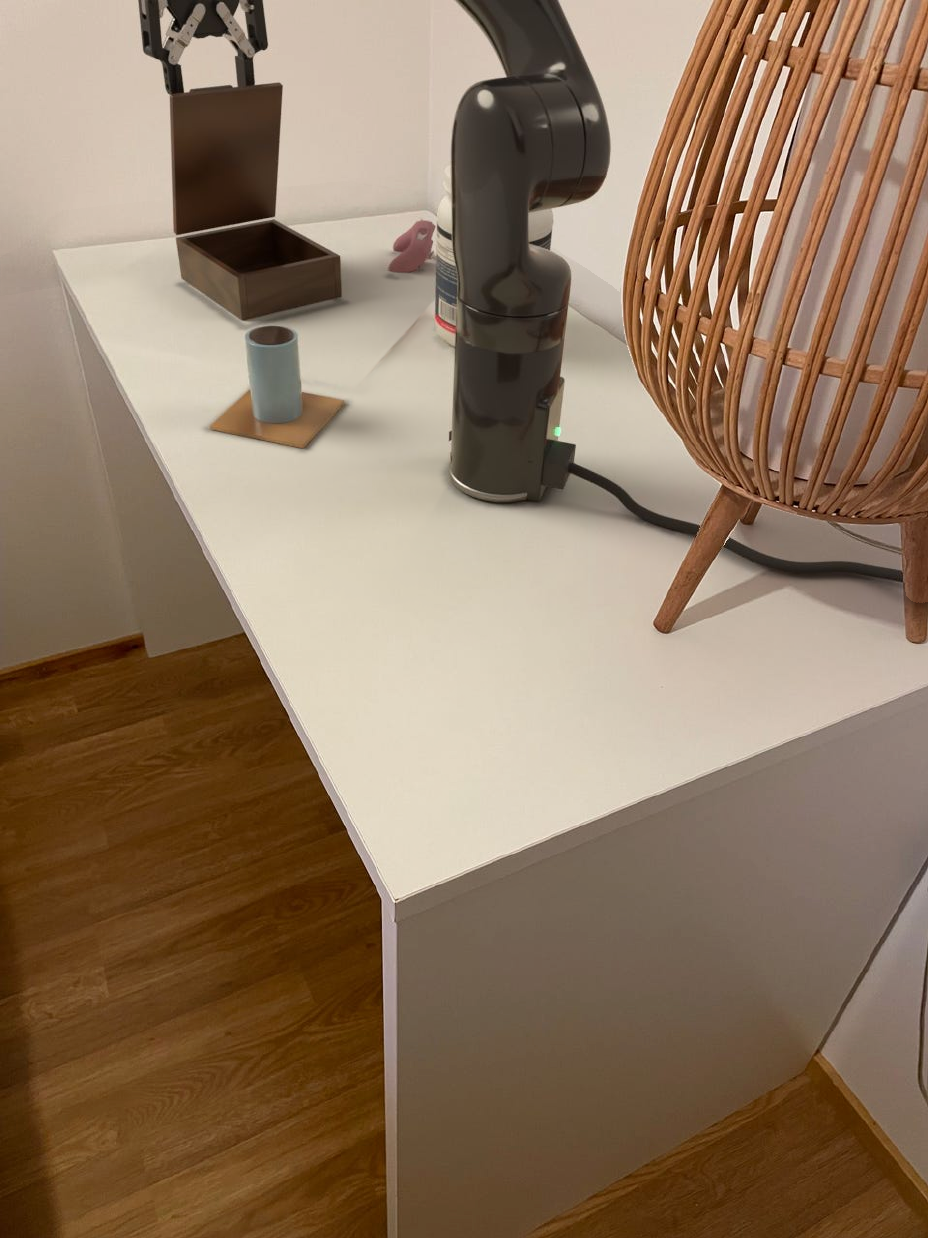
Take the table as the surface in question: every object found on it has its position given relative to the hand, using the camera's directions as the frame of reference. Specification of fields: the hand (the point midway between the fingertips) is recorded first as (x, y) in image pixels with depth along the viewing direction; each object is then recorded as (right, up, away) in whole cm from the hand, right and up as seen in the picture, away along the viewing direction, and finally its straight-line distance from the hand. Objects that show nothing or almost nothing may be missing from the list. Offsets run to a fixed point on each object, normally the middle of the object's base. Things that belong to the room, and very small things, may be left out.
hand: (212, 96), depth 113 cm
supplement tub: (+32, -28, +2) cm, 42 cm away
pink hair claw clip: (+22, -13, +19) cm, 32 cm away
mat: (+11, -40, -15) cm, 45 cm away
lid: (+1, -6, +3) cm, 7 cm away
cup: (+11, -40, -15) cm, 44 cm away
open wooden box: (+4, -20, +9) cm, 22 cm away
